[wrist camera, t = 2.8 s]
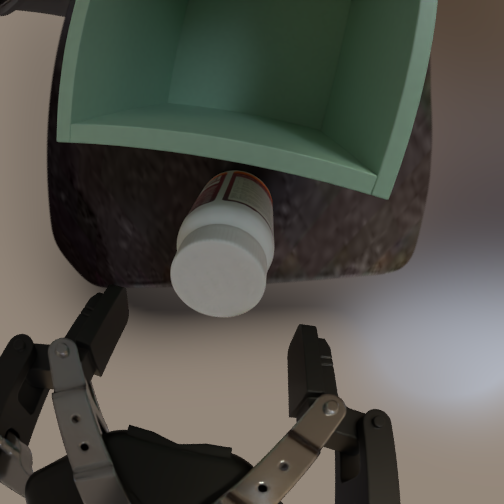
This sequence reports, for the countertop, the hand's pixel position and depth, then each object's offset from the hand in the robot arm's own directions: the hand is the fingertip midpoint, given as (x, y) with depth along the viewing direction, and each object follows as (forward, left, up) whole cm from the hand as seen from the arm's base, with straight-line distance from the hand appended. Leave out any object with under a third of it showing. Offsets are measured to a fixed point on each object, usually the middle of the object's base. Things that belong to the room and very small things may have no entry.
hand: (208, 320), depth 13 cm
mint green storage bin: (-7, +13, -14) cm, 20 cm away
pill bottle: (0, 0, -14) cm, 14 cm away
